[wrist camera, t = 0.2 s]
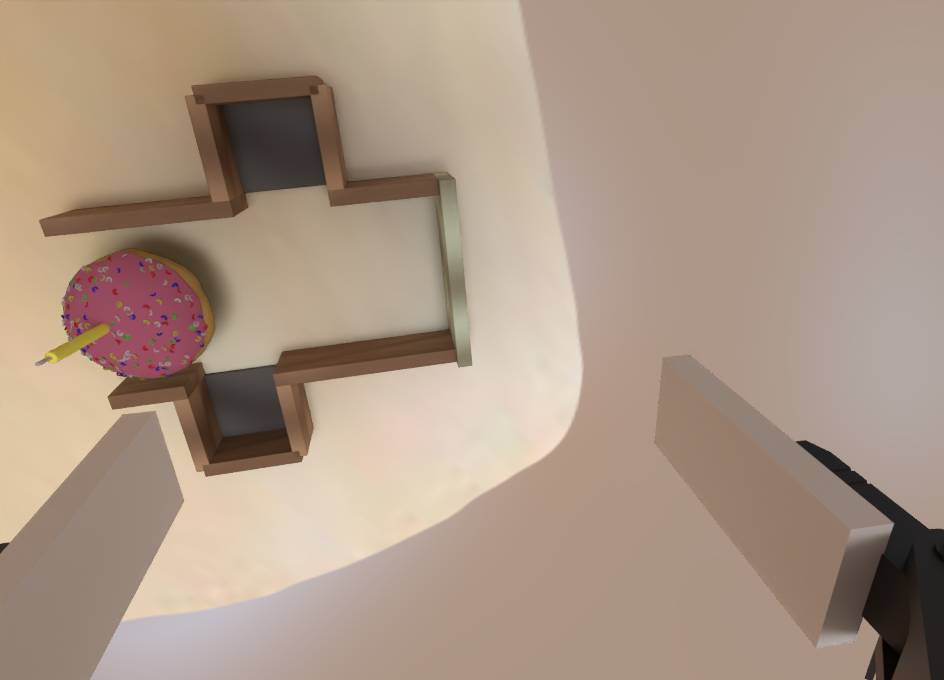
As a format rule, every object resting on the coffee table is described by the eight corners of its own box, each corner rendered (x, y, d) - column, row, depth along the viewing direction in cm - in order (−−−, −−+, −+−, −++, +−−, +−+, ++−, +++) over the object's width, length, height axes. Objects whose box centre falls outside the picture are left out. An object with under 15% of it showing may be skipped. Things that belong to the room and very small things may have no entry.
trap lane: (35, 103, 34) (-20, 100, 29) (437, 70, 36) (444, 63, 32) (162, 455, 44) (136, 495, 39) (469, 409, 46) (479, 441, 42)
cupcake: (113, 350, 40) (10, 438, 29) (87, 235, 37) (-38, 284, 26) (236, 348, 41) (182, 432, 30) (221, 236, 38) (156, 284, 27)
